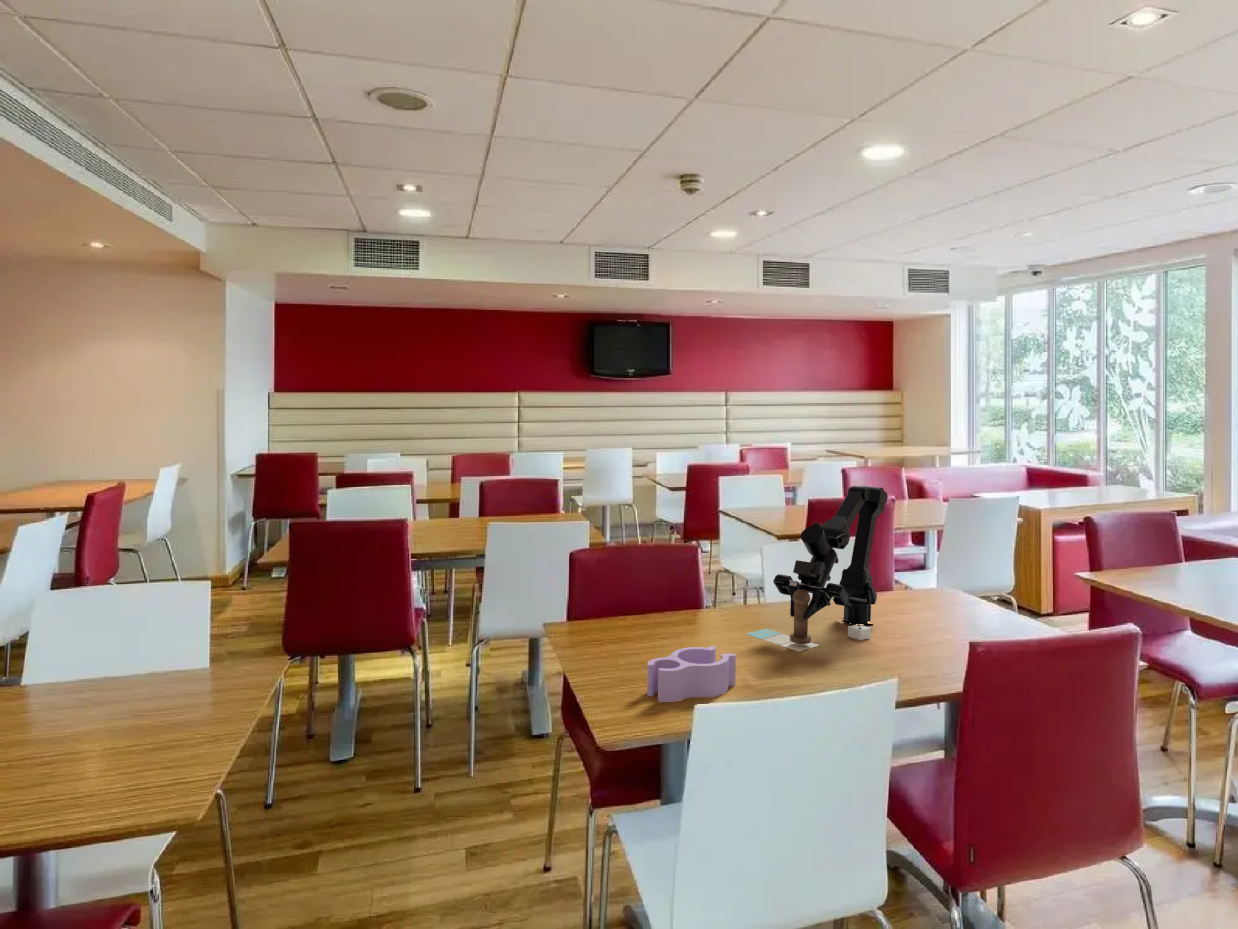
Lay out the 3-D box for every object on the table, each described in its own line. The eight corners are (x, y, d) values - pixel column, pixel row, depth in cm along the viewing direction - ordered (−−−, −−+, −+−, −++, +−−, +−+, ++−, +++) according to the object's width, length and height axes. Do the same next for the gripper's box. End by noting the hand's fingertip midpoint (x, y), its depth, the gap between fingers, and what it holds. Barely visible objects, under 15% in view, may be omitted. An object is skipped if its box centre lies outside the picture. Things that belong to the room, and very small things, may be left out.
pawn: (805, 637, 189) (806, 586, 188) (814, 643, 184) (816, 591, 183) (786, 638, 188) (787, 587, 187) (795, 644, 183) (796, 592, 182)
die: (858, 639, 196) (858, 623, 196) (870, 643, 193) (870, 626, 193) (847, 641, 194) (848, 625, 194) (860, 645, 191) (860, 629, 191)
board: (741, 638, 196) (741, 633, 196) (764, 632, 201) (764, 627, 201) (800, 658, 181) (800, 652, 181) (823, 650, 186) (823, 645, 186)
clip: (671, 709, 150) (672, 676, 149) (635, 690, 160) (635, 659, 159) (744, 689, 161) (744, 658, 160) (706, 672, 171) (706, 642, 171)
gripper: (777, 543, 194) (753, 592, 186) (844, 553, 181) (822, 606, 174) (792, 568, 200) (769, 617, 193) (858, 579, 187) (837, 632, 180)
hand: (798, 617), depth 185 cm, fingers closed on pawn, 3 cm apart
